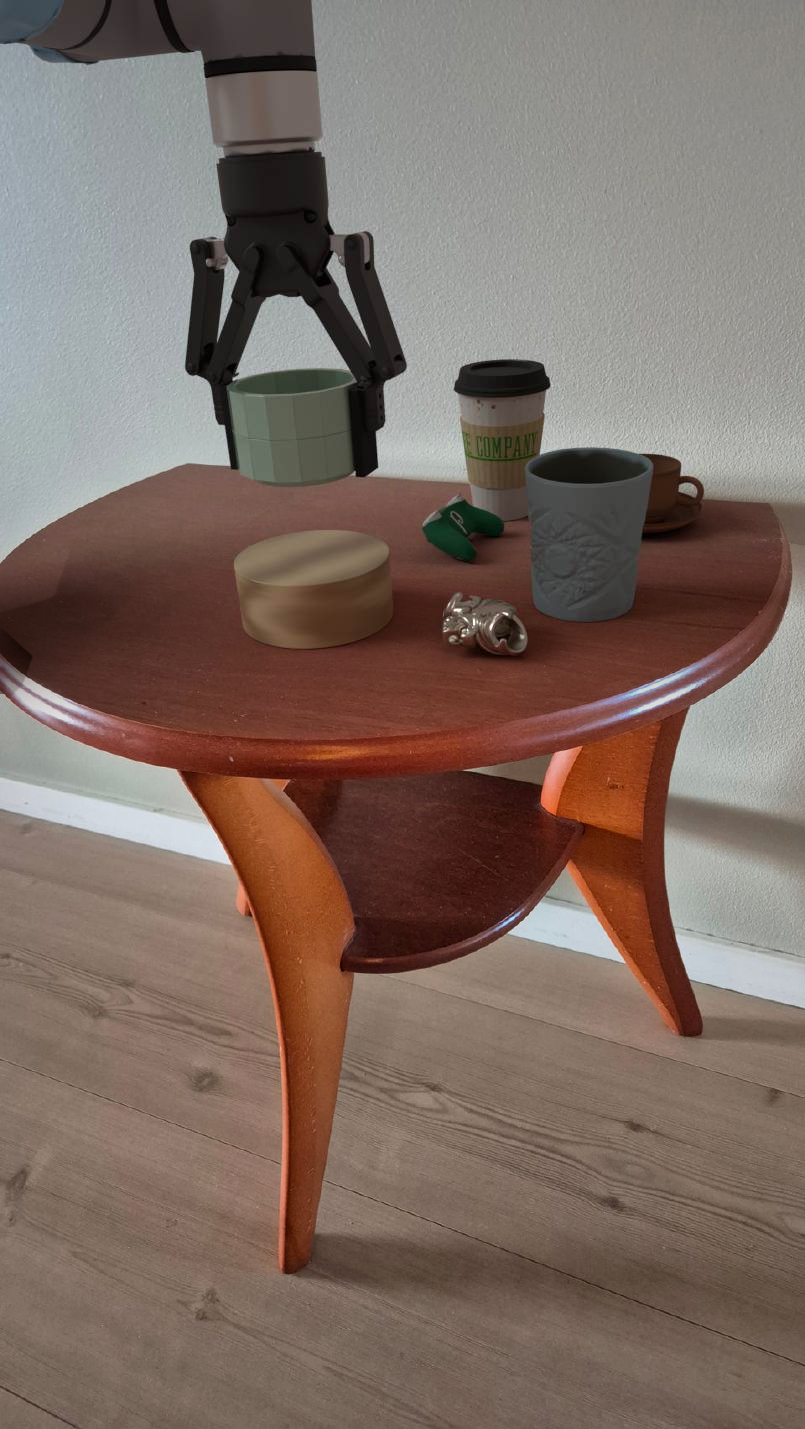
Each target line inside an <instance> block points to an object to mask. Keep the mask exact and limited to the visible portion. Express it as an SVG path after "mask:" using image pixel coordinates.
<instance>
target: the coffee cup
mask: <svg viewBox="0 0 805 1429" xmlns="http://www.w3.org/2000/svg"><path fill="white" fill-rule="evenodd" d="M551 387H552V385H551V379H550V377H549V376H548V375H547V371H546V368H545V365H544V363H542V362H539V361H536V360H529V359H518V358H515V359H514V358H509V359H508V358H505V359H489V360H481V361H476V362H471V363H467V364H464V365H462V366H461V367H460V368H459V371H458V376H457V379H456V380H455V381H454V386H453V392H455V393H456V394H457V396H458V403H459V411H460V417H459V422H460V429H461V438H462V443H463V451H464V458H465V465H466V466H465V467H466V473H467V480H468V482H469V486H470V494H471V502H472V506H474V507H477V508H480V509H483V510H486V511H488V512H490V513H492V514H495V515H496V516H498V517H499V518H500V519H501V520H502V521H503V522H505V521H507V522H509V521H514V520H515V521H516V520H520V519H523V518H526V517H527V516H529V511H528V510H529V504H528V498H527V489H526V476H525V466H526V464H527V463H528V462H529V461H530V460H532V459H534V458H535V457H537V456H538V455H541V448H542V441H543V440H542V439H543V433H544V424H545V416H546V415H545V412H544V411H545V403H546V394H547V390H549V389H550V388H551Z"/></svg>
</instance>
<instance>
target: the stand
mask: <svg viewBox="0 0 805 1429" xmlns="http://www.w3.org/2000/svg"><path fill="white" fill-rule="evenodd" d="M233 569H234V576H235V582H236V589H237V597H238V602H239V609H240V616H241V623H242V628H243V630H244V632H245V633H246V635H248V636H249V637H250V638H252V639H253V640H255V641H257V642H259V643H262V644H265V645H267V646H268V645H269V646H273V647H277V648H283V649H293V650H294V649H297V650H298V649H299V650H310V649H312V650H313V649H324V648H331V647H337V646H342V645H346V644H347V645H348V644H351V643H354V642H357V641H360V640H363V639H366V638H368V637H370V636H372V635H374V634H376V633H378V632H380V631H381V630H382V629H383V628H385V627H386V626H387V625H388V624H389V623H390V621H391V620H392V618H393V616H394V602H393V587H392V586H393V585H392V570H391V554H390V548H389V546H388V545H387V544H386V543H385V541H383V540H382V539H380V538H378V537H376V536H373V535H370V534H367V533H364V532H358V531H351V530H343V529H342V530H341V529H315V530H303V531H295V532H290V533H289V532H288V533H286V534H280V535H277V536H273V537H269V538H266V539H263V540H261V541H258V542H255V543H253V544H251V545H248V547H245V548H244V549H243V550H242V551H241V552H239V553H238V554H237V555H236V557H235V559H234V561H233Z"/></svg>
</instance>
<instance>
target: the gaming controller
mask: <svg viewBox="0 0 805 1429" xmlns="http://www.w3.org/2000/svg"><path fill="white" fill-rule="evenodd" d="M421 531H422V533H423V534H424V536H425V538H426V541H427V542H428V543H429V544H432V546H434V547H435V548H436V549H438V550H440V551H441V552H443V553H445V554H446V555H448V556H450V557H452V558H455V559H458V560H461V561H464V562H467V563H471V562H472V561H474V560H475V559H476V558H477V556H478V551H477V548H476V547H475V546H474V545H473V543H472V542H471V541H470V540H469V539H468V538H469V537H470V536H471V535H472V534H479V535H484V536H491V537H500V536H502V535H503V533H504V531H505V523H504V521H502V520H501V519H500V518H499V517H498V516H496V515H495V514H492V513H490V512H488V511H486V510H483V509H480V508H477V507H474V506H473V504H470V503H469V502H468V501H467V500H466V499H465V498H463V496H462V493H461V492H459V493H458V494H457V495H455V496H454V497H452V498H451V499H450V500H449V501H448V502H447V503H446V504H445V507H443V508H441V509H436V510H435V511H433V512H432V513H431V514H430V515H429V516H427V517H426V518H425V519H424V521H423V523H422V527H421Z"/></svg>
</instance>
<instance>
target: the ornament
mask: <svg viewBox="0 0 805 1429" xmlns="http://www.w3.org/2000/svg"><path fill="white" fill-rule="evenodd" d="M463 598H464V595H463V593H462V592H456V593H454V594H453V595H452V597H451V598H450V600H449V602H448V603H447V605H446V606H445V608H444V609H443V611H442V612H443V614H442V625H441V634H442V635H441V636H442V645H443V647H448V648H460V647H461V645H463V646H465V647H466V648H467V649H473V648H476V647H477V644H478V646H479V647H480V648H481V649H483V650H484V651H485V652H487V653H489V654H491V655H495V656H508V655H509V656H511V657H518V656H520V655H522V654H523V653H524V651H526V648H527V646H528V641H529V640H528V634H527V630H526V628H525V625H524V623H522V621H521V620H520V619H519V617H518V616H517V608H516V607H515V606H514V605H513V604H510V603H508V602H506V601H504V600H502V599H496V600H495V599H492V598H486V599H482V598H481V597H480V596H478V595H469V597H468V600H466V601H462V600H463Z"/></svg>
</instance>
